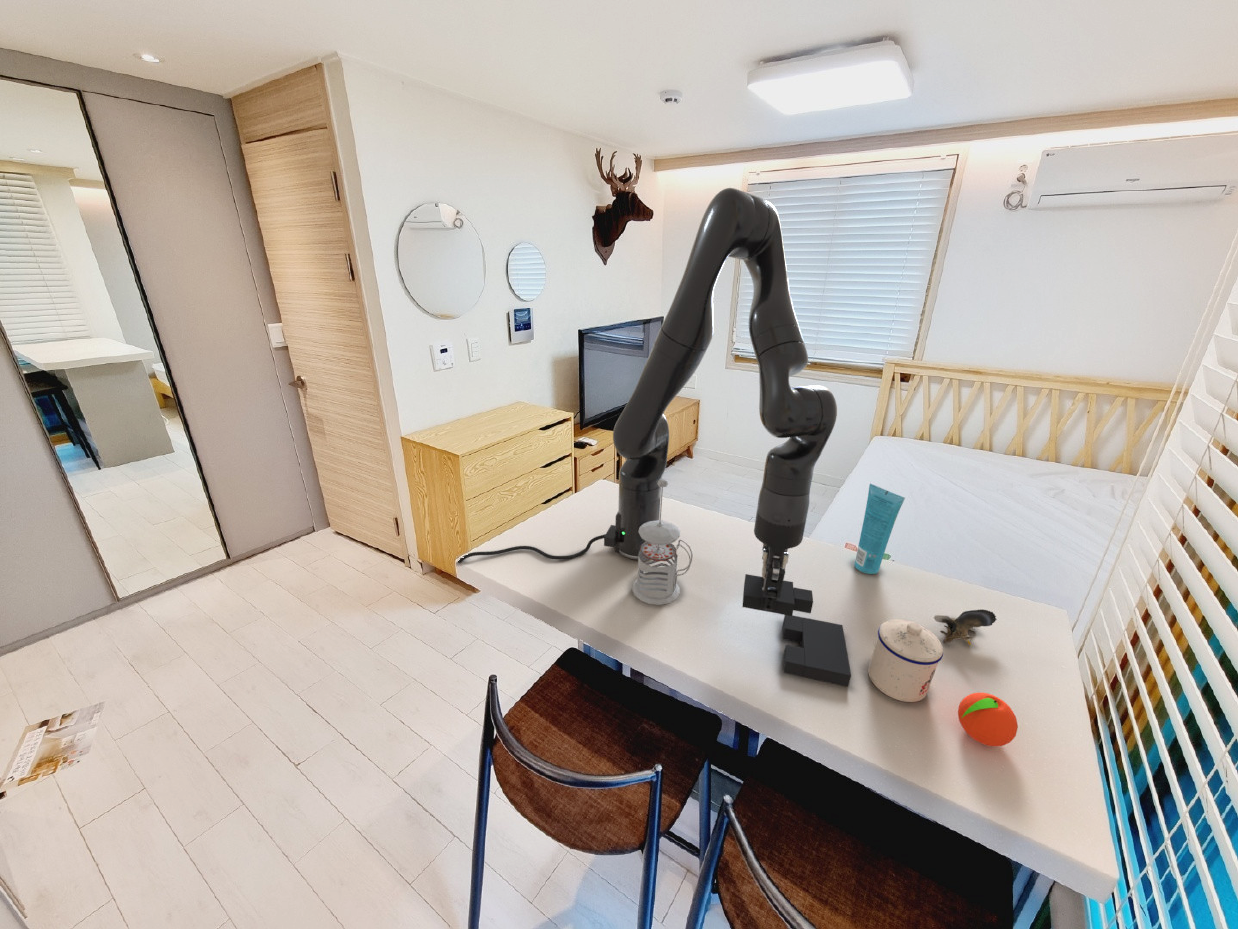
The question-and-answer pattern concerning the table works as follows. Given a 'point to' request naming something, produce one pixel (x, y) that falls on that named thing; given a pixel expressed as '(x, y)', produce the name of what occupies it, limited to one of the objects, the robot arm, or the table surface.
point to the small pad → (784, 605)
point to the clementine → (987, 719)
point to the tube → (876, 528)
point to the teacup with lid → (904, 660)
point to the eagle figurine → (965, 624)
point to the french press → (658, 580)
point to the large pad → (816, 650)
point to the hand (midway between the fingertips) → (767, 597)
